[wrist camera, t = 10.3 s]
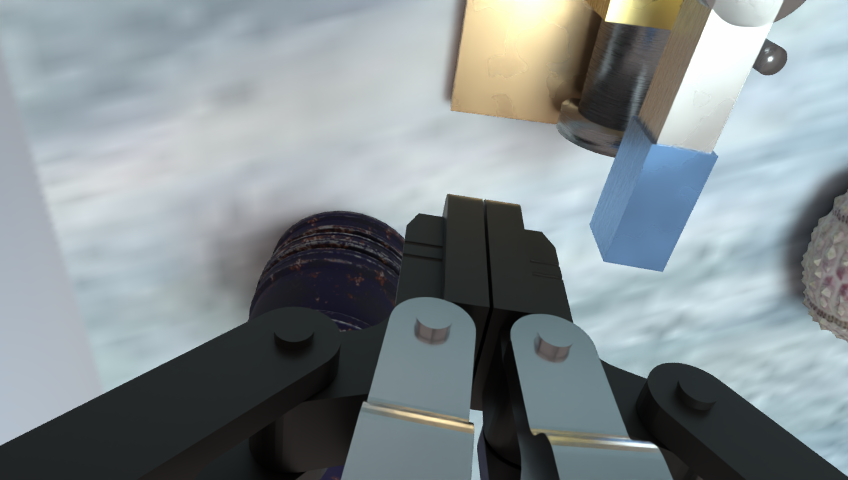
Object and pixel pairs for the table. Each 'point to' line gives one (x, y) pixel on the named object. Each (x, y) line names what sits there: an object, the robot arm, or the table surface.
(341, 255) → the storage jar
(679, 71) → the lever
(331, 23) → the table surface
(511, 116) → the valve
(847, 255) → the sea urchin shell
